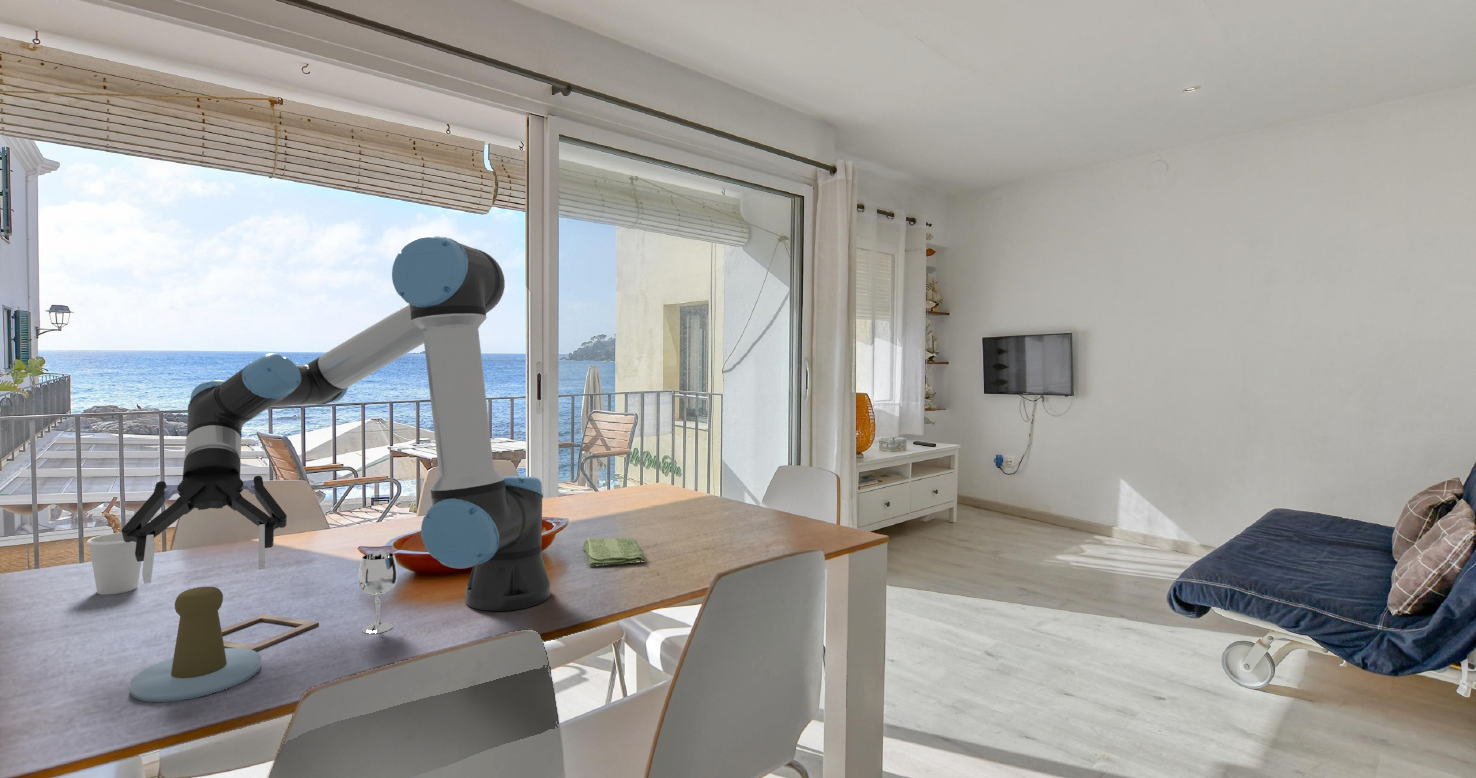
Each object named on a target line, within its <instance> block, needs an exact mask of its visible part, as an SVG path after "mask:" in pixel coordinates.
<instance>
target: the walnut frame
mask: <svg viewBox="0 0 1476 778" xmlns="http://www.w3.org/2000/svg"><path fill="white" fill-rule="evenodd" d="M259 622H260V623H261V622H265V623H272V624H280V625H284V624H286V625H285V626H291V625H293V626H292V627H294V628H292V629H288V630H287V631H283V632H282V633H279V634H276V635H274V636H271V637H268V638H265V639H263V640H261V641H259V642H256V643H253V644H246V643H239V642H234V641H233V642H232V641H227V640H223V643H224V649H225V648H242V649H249V650H253V651H256V652H258V651H260V650H262V649H264V648H268V647H270V646H272V645H274V644H277V643H279V642H282V641H284V640H286V639H290V638H291V636H292V637H294V636H296V634H297V635H299V634H302V633H304V632H306V631H309V630H312V629H314V628H316V627H318V625H319V626H320V622H319V621H312V620H305V619H299V618H292V617H286V616H285V617H284V616H278V615H271V614H266V613H262V614H259V615H257V616H254V617H251V618H248V619H245V620H243V621H242V620H241V621H240V622H236V623H234V624H230V625H228V626H226V627H223V628H222V627H221V631H222V636H223V635H224V636H225V635H227V634H230V633H233V632H235V631H238V630H241V629H243V628H246V627H249V626H251V625H255V624H257V623H259ZM297 626H298V627H297ZM301 632H302V633H301Z"/></svg>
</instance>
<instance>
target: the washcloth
mask: <svg viewBox="0 0 1476 778" xmlns="http://www.w3.org/2000/svg"><path fill="white" fill-rule="evenodd" d="M582 549H583V551H584V552H585V555H586V558H587V561H588V565H589V566H591V567H592V566H596V565H603V564H604V565H605V564H620V565H625V564H624V563H627V564H628V563H630V562H636V561H640V562H641V561H645V562H646V559H647V558H646V557H645V555H644V552H643V549H642V548H641V547H640V544H638V542H637V541H636V539H635V538H634V537H614V538H602V537H600V538H599V537H596V538H595V537H593V538H592V537H588V538H586V540H584V543H583V545H582ZM630 564H631V563H630ZM596 567H597V566H596Z"/></svg>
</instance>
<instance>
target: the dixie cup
mask: <svg viewBox="0 0 1476 778" xmlns="http://www.w3.org/2000/svg"><path fill="white" fill-rule="evenodd" d="M86 543H87V545H88V547H89V554H90V559H91V564H92V570H93V577H94V582H95V587H96V593H97V594H99V595H100V596H101V595H102V596H103V595H106V596H108V595H117V594H124V593H127V592H131V591H134V590H136V589H137V588H138V585H139V580H140V574H141V567H142V561H140V562H137V560H136V556H135V550H136V542H134V541H131V542H125V541H124V540H123V536H122V532H113V533H105V534H103V535H102V534H101V535H97V536H94V537H90V538H89V539H88V540H87V541H86Z"/></svg>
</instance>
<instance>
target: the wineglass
mask: <svg viewBox="0 0 1476 778" xmlns="http://www.w3.org/2000/svg"><path fill="white" fill-rule="evenodd" d="M398 574H399V570H398V564H397V560H396V555H395V554H394V553H392V552H382V551H381V552H373V553H368V554H364V555H363V556H362V557H361V561H360V564H359V569H358V574H357V582H358V587H359V589H360V591H362V592H363V593H364V594H367V595H371V596H375V598H374V605H375V609H376V613H375V614H376V615H375V616H376V617H375V622H374V623H373V624H370V625H367V626H365V627H363V628H362V633H364V634H368V635H369V634H371V635H372V634H374V635H375V634H381V633H385V632H389V631H391V630H392V629H393V627H394V625H393V624H391V623H389V622H381V619H380V608H381V604H382V598H381V595H384V594H386V593H388V592H390V591H391V590H393V589H394V588H395V586H396V585H397V582H398V576H399V575H398Z"/></svg>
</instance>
